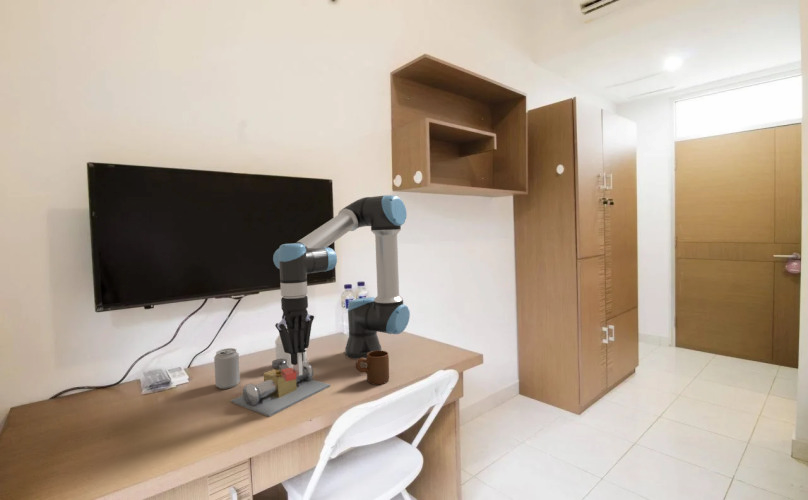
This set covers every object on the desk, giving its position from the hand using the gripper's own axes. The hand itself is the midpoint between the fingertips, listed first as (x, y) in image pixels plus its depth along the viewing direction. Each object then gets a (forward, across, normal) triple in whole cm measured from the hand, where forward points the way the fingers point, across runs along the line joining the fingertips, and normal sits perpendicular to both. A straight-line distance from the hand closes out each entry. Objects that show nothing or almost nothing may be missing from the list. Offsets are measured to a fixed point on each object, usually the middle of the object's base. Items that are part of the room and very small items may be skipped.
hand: (297, 373), depth 114 cm
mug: (+10, -24, +9) cm, 27 cm away
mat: (+9, -2, -10) cm, 14 cm away
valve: (+9, -2, -11) cm, 14 cm away
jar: (+10, -21, -28) cm, 36 cm away
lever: (+1, 0, -6) cm, 6 cm away
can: (+9, +3, -32) cm, 33 cm away
